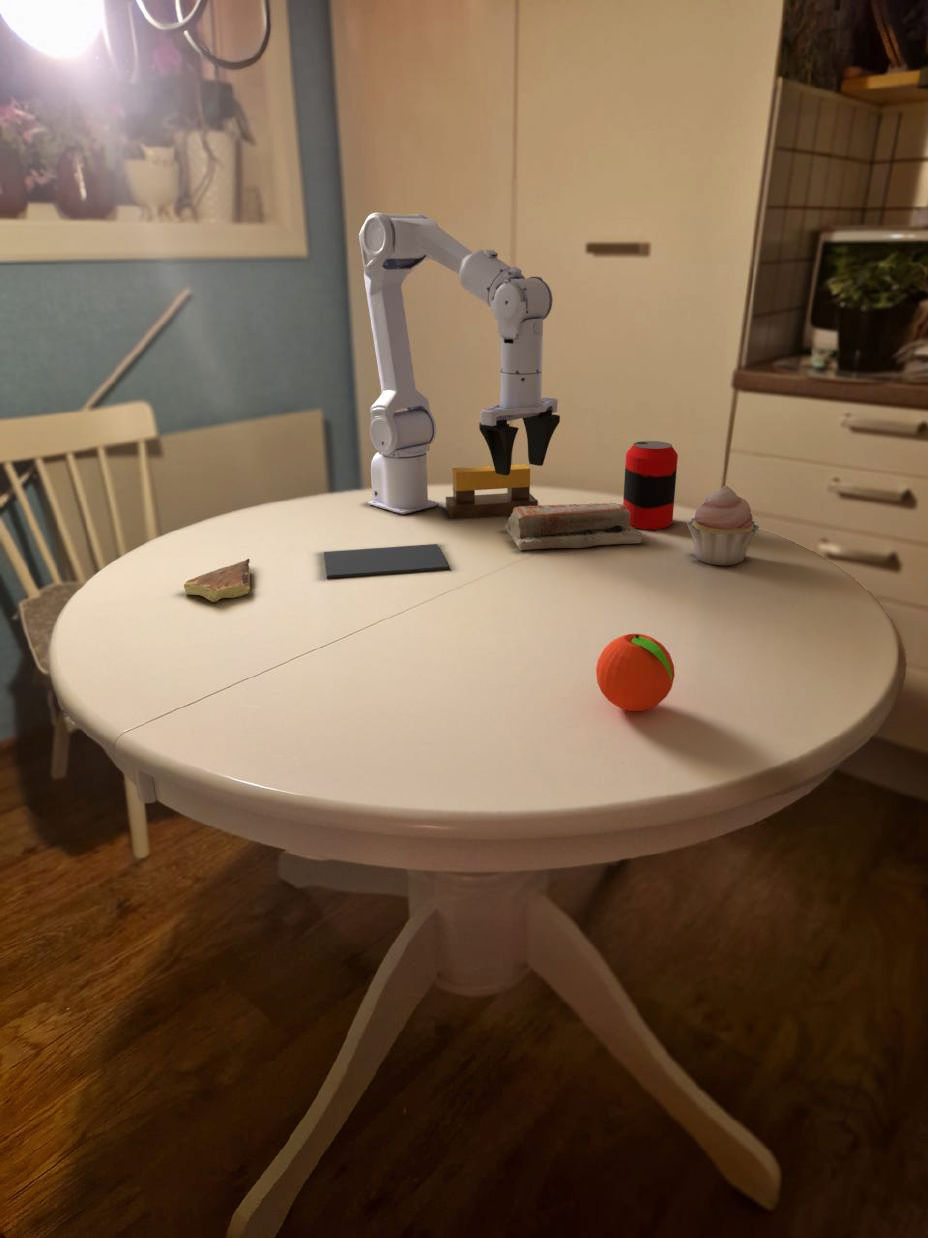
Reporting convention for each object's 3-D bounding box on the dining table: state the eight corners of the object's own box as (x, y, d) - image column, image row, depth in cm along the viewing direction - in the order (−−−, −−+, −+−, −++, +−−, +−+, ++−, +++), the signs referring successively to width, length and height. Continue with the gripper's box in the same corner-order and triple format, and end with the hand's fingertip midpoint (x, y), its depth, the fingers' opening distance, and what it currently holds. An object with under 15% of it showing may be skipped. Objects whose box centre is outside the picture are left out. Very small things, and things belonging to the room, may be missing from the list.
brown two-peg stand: (452, 518, 136) (451, 493, 135) (445, 508, 142) (445, 484, 140) (537, 512, 139) (538, 488, 137) (528, 503, 144) (528, 479, 143)
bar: (456, 491, 136) (456, 472, 135) (452, 486, 139) (452, 467, 138) (530, 486, 138) (530, 468, 137) (524, 482, 141) (525, 463, 140)
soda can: (640, 513, 138) (644, 437, 133) (681, 522, 133) (688, 444, 128) (612, 523, 133) (616, 445, 128) (654, 533, 128) (660, 452, 123)
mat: (326, 578, 112) (326, 575, 112) (324, 554, 121) (323, 551, 121) (448, 569, 114) (448, 566, 114) (437, 546, 123) (437, 543, 123)
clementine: (696, 716, 77) (704, 643, 74) (639, 738, 74) (644, 663, 71) (634, 682, 83) (639, 614, 81) (578, 701, 80) (581, 631, 77)
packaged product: (519, 518, 118) (505, 500, 128) (518, 552, 120) (505, 532, 129) (645, 511, 121) (622, 494, 130) (643, 544, 123) (620, 525, 132)
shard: (250, 569, 115) (248, 556, 115) (290, 580, 111) (288, 566, 111) (182, 593, 107) (180, 579, 107) (223, 606, 103) (221, 591, 103)
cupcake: (753, 550, 120) (762, 479, 116) (756, 572, 111) (765, 496, 108) (684, 545, 122) (690, 475, 118) (682, 567, 114) (688, 492, 110)
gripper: (509, 379, 112) (508, 482, 117) (576, 368, 121) (572, 464, 127) (469, 375, 116) (469, 474, 121) (536, 365, 126) (534, 457, 131)
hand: (519, 469), depth 124 cm, fingers open, 7 cm apart
